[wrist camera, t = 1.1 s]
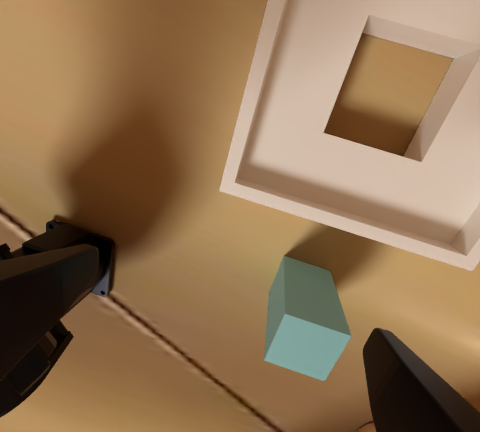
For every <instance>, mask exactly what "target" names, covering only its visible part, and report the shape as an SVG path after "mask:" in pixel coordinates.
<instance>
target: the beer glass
mask: <svg viewBox="0 0 480 432" xmlns="http://www.w3.org/2000/svg"><path fill="white" fill-rule="evenodd" d="M357 432H376V429H375V425H374V422H372V423H369V424H366V425H364V426H362V427H361V428H360V429H359V430H358V431H357Z"/></svg>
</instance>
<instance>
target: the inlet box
mask: <svg viewBox="0 0 480 432" xmlns="http://www.w3.org/2000/svg"><path fill="white" fill-rule="evenodd" d="M362 33H365V34H368V35H372V36H375V37H379V38H383V39H386V40H390V41H393V42H397V43H400V44H404V45H408V46H411V47H415V48H418V49H422V50H425V51H429V52H433V53H436V54H440V55H443V56H447V57H450V58H454V59H453V61H452V63H451V65H450V67H449V69H448V71H447V73H446V75H445V77H444V79H443V81H442V83H441V85H440V86H439V88H438V90H437V92H436V94H435V96H434V98H433V100H432V102H431V104H430V106H429V108H428V110H427V112H426V113H425V115H424V117H423V119H422V121H421V123H420V125H419V127H418V129H417V131H416V133H415V135H414V137H413V138H412V140H411V142H410V144H409V146H408V148H407V150H406V152H405V154H404V156H403V157H402V156H399V155H396V154H392V153H389V152H386V151H382V150H379V149H376V148H372V147H369V146H366V145H362V144H359V143H356V142H353V141H349V140H346V139H343V138H339V137H336V136H333V135H329V134H326V133H323V132H324V130H325V127H326V125H327V122H328V120H329V117H330V114H331V112H332V109H333V107H334V104H335V101H336V99H337V96H338V94H339V91H340V88H341V86H342V83H343V81H344V78H345V75H346V73H347V70H348V68H349V65H350V62H351V60H352V57H353V55H354V52H355V50H356V47H357V44H358V42H359V39H360V37H361V34H362ZM219 191H221V192H224V193H227V194H231V195H234V196H237V197H240V198H243V199H246V200H249V201H253V202H256V203H259V204H262V205H265V206H268V207H271V208H275V209H278V210H281V211H284V212H287V213H290V214H293V215H297V216H300V217H303V218H306V219H309V220H312V221H315V222H319V223H322V224H325V225H328V226H331V227H334V228H337V229H341V230H344V231H347V232H350V233H353V234H356V235H359V236H363V237H366V238H369V239H372V240H375V241H378V242H381V243H385V244H388V245H391V246H394V247H397V248H400V249H403V250H407V251H410V252H413V253H416V254H419V255H422V256H425V257H429V258H432V259H435V260H438V261H441V262H444V263H447V264H451V265H454V266H457V267H460V268H463V269H466V270H469V271H473V269H474V268H475V267H476V265H477V264H478V263H479V261H480V0H268V2H267V6H266V10H265V14H264V18H263V22H262V26H261V30H260V34H259V37H258V41H257V45H256V49H255V53H254V57H253V61H252V65H251V69H250V73H249V76H248V80H247V84H246V88H245V92H244V96H243V100H242V104H241V108H240V112H239V115H238V119H237V123H236V127H235V131H234V135H233V139H232V143H231V147H230V151H229V154H228V158H227V162H226V166H225V170H224V174H223V178H222V182H221V186H220V189H219Z"/></svg>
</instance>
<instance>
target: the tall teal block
mask: <svg viewBox="0 0 480 432" xmlns="http://www.w3.org/2000/svg"><path fill="white" fill-rule="evenodd" d="M350 338H351V333H350V330H349V327H348V324H347V321H346V318H345V315H344V312H343V309H342V306H341V303H340V300H339V297H338V294H337V291H336V287H335V284H334V281H333V278H332V275H331V272H330V271H329V270H326V269H323V268H320V267H317V266H314V265H311V264H308V263H305V262H302V261H299V260H296V259H293V258H290V257H286V256H284V257H283V259H282V262H281V264H280V267H279V269H278V272H277V274H276V277H275V279H274V282H273V284H272V287H271V289H270V292H269V300H268V314H267V327H266V341H265V354H264V361H267V362H270V363H273V364H276V365H279V366H282V367H285V368H287V369H290V370H293V371H296V372H299V373H302V374H305V375H308V376H311V377H313V378H316V379H319V380H322V381H325V379H326V378H327V376H328V374H329V373H330V371H331V369H332V368H333V366H334V364H335V363H336V361H337V359H338V358H339V356H340V354H341V353H342V351H343V349H344V348H345V346H346V344H347V343H348V341H349V339H350Z"/></svg>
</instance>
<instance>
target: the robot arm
mask: <svg viewBox="0 0 480 432" xmlns="http://www.w3.org/2000/svg"><path fill="white" fill-rule="evenodd" d="M52 225H53V226H52ZM107 243H108V244H109V245H108V244H107ZM114 246H115V244H114V242H113V240H111V239H109V238H106V237H103V236H100V235H97V234H94V233H91V232H89V231H86V230H83V229H80V228H77V227H74V226H71V225H68V224H64V223H61V222H58V221H55V220H51V221H49V222H47V223H46V232H45V233H43V234H41V235H39V236H37V237H34V238H32V239H30V240H28V241H26V242H24V243H23V244H22V247H21V248H19V249H17V250H15V251H13V252H10V251H9V250H10V248H9V247H8V245H7V244H6V243H5V244H3V245H0V417H2V416H4V415H5V414H7V413H8V412H10V411H11V410H13V409H14V408H15V407H17V406H18V405H19V404H20V403H22V402H23V401H24V400H25V399H26V398H27V397H29V396H30V395H31V394H32V393H33V392H34V391H35V390H36V389H37V388H38V386H39V385H40V384H41V383H42V382H43V380H44V379H45V378H46V376H47V375H48V373H49V372H50V370H51V369H52V367H53V366H54V365H55V363H56V362H57V360H58V359H59V357H60V356H61V354H62V353H63V352H64V350H65V349H66V347H67V346H68V344H69V343H70V341H71V340H72V338H73V337H74V336H73V335H72V334H71V332H70V331H68V330H67V329H66V328H65V326H64V325H63V324H62V322H61V321H60V319H61V318H62V317H63V316H64V315H66V314H67V313H68V312H69V311H70V310H71V309H72V308H73V307H75V306H76V305H77V304H78V303H79V302H80V301H81V300H83V299H84V298H85V297H86V296H87V295H88V294H89V293H90V292H91V293H94V294H96V295H99V296H102V297H106V296H107V295H108V294H109V293H110V286H111V276H112V266H113V256H114ZM363 359H364V366H365V373H366V380H367V388H368V395H369V401H370V407H371V412H372V417H373V421H374V425H375V429H376V432H480V412H478V411H477V410H476V409H475V408H474V407H473V406H472V405H471V404H470V403H469V402H467V401H466V400H465V399H464V398H463V397H462V396H461V395H460V394H459V393H458V392H456V391H455V390H454V389H453V388H452V387H451V386H450V385H449V384H448V383H447V382H446V381H444V380H443V379H442V378H441V377H440V376H439V375H438V374H437V373H436V372H435V371H433V370H432V369H431V368H430V367H429V366H428V365H427V364H426V363H425V362H424V361H422V360H421V359H420V358H419V357H418V356H417V355H416V354H415V353H414V352H413V351H412V350H410V349H409V348H408V347H407V346H406V345H405V344H404V343H403V342H402V341H401V340H399V339H398V338H397V337H396V336H395V335H394V334H393V333H392V332H390V331H388V330H384V329H381V328H375V329H374V330H373V331H372V333H371V334H370V336H369V338H368V340H367V342H366V344H365V345H364V348H363Z"/></svg>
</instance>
